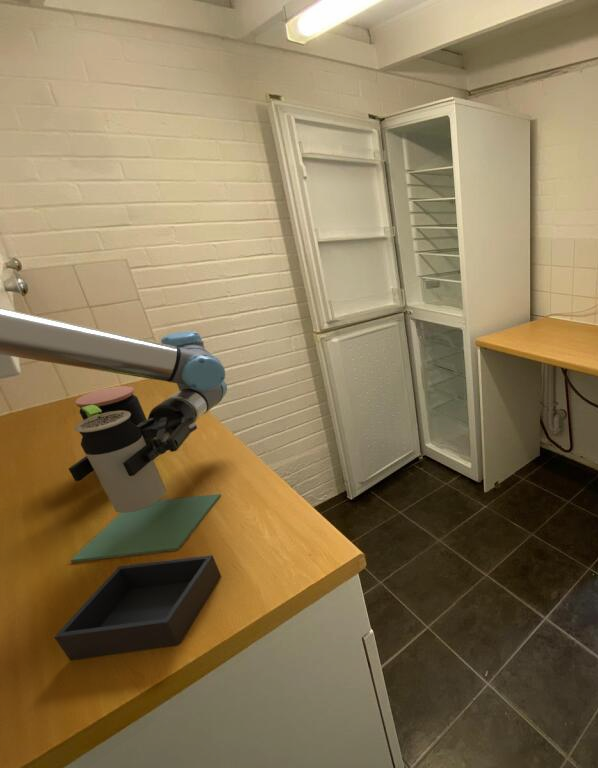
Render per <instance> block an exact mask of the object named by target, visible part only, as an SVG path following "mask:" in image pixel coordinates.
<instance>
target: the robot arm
mask: <svg viewBox="0 0 598 768" xmlns="http://www.w3.org/2000/svg"><path fill="white" fill-rule="evenodd" d="M0 355H1V356H8V357H15V358H21V359H26V360H32V361H39V362H44V363H50V364H51V363H52V364H58V365H63V366H69V367H76V368H81V369H89V370H95V371H99V372H106V373H111V374H112V373H113V374H119V375H124V376H131V377H137V378H142V379H143V378H144V379H148V380H149V379H150V380H155V381H162V382H168V383H171V384H176V385H177V388H178V390H176V391H175V393H173V394H172V395H170V396H168V397H166V398H165V399H164V400H163V401H162V402H160V403H159V404H157V405H156V406H154V407H153V408H152V409H151V410H150V412H149V415H148V417H147V418H146V419H147V420H145V421H143V422H141V423H140V424H139V425H136V426H138V427H139V429H140V431H141V434H142V436H143V438H144V440H145V441H147V440H149V439H151V438H155V439H154V440H152V441H153V443H154V446H153V445H152V444H147V445H145V446H144V447H143V448H142V449H141V450H139V451H138V452H137V453H135V454H134V455H133V456H132V457H130V458H129V459H128V460H127V461H125V462H124V463H123V464H124V467H125V469H126V471H127V473H128V475H129V476H134V475H135V474H136V473H137V472H139V471H140V470H141V469H142V468H143V467H144V466H146V465H147V464H148V463H149V462H150V461H152V460H154V461H155V459H156V458H157V457H158V456H160V455H163V454H166V453H167V451H170V452H171V453H174V452H177V451H178V450H179V448H180V447H181V446H182V445H183V443H184V442H185V441H186V439H187V438H188V437H189V436H190V435H191V433H193V432H194V431H196V430H197V429H198V426H197V424H196V422H197V421H199V419H200V418H201V417H203V416H204V415H205V414H206V413H208V412H209V411H210V410H211V409H213V408H215V406H217V405H218V404H219V403H220V402H221V401H222V400H223V399H224V397H225V396H226V394H227V392H228V385H227V383H226V381H225V379H226V369H225V367H224V365H223V364H222V361H220V359H218V357H215V356H214V355H212V354H211V352H209V351H208V350H207V349H206V347H205V345H204V341H203V339H202V337H201V335H200V333H198V332H197V331H195V330H185V331H177V332H173V333H169V334H166V335H164V336H163V337H162V338H161V339H160V342H156V341H152V340H148V339H143V338H139V337H134V336H130V335H126V334H125V335H124V334H121V333H115V332H112V331H106V330H102V329H97V328H94V327H89V326H85V325H81V324H80V325H79V324H75V323H71V322H65V321H62V320H57V319H52V318H47V317H43V316H38V315H34V314H29V313H24V312H20V311H16V310H13V309H6V308H2V307H0ZM68 470H69V473H70V475H71V476H72V478H73V480H74V481H75V482H81V481H82V480H83V479H85V478H86V477H87V476H89V475H91V474H92V473H93V472H95V471H94V469H93V467H92V465H91V463H90V461H89V459H88V458H87V456H86V455H85V456H84V457H83V458H81V459H80V460H79V461H76V463H74V464H72V466H70V467H69V468H68Z"/></svg>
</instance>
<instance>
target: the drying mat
mask: <svg viewBox="0 0 598 768" xmlns="http://www.w3.org/2000/svg"><path fill="white" fill-rule="evenodd" d="M221 496H222V495H221V493H215V494H206V495H197V496H196V495H195V496H186V497H177V498H167V499H160V500H159V501H157V502H156V503H154V504H153V505H151V506H149V507H147V508H144V509H141V510H139V511H134V512H129V513H119V514H118V515H117V516H116V517H115V518H113V520H112V521H110V522H109V523H108V524H107V525H106V526H105V527H104V528H103V529H101V531H100V532H99V533H97V535H96V536H94V537H93V538H92V539H91V540H90V541H89V542H88V543H87V544H86V545H85V546H83V548H81V549H80V550H79V551H78V553H76V554H75V555H74V556H73V557H72V558H71V559H70V563H81V562H88V561H96V560H105V559H113V558H122V557H123V558H124V557H132V556H140V555H141V556H142V555H148V554H157V553H167V552H174V551H179V550H180V549H181V547H182V546H183V545H184V544H185V543H186V541H187V540H188V538H189V537H190V536H191V535H192V533H194V531H195V530H196V529H197V527H198V526H199V525H200V523H201V522H202V521H203V520H204V518H205V517H206V516H207V514H208V513H209V512H210V510H211V509H213V507H214V506H215V504H216V503H217V502H218V500H219V499H220V498H221Z"/></svg>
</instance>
